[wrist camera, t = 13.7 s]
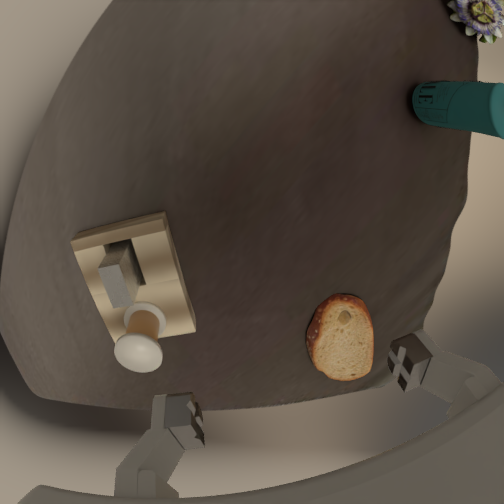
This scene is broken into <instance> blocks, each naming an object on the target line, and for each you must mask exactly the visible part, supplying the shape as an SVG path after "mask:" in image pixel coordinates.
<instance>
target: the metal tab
mask: <svg viewBox="0 0 504 504" xmlns="http://www.w3.org/2000/svg"><path fill="white" fill-rule="evenodd" d="M97 269H98V272H99V274H100V277H101V280H102V282H103V285H104V287H105V290H106V292H107V295H108V297H109V300H110V302H111V304H112V307H113V308H120V307H126V306H133V305H134V303H135V299H136V296H137V293H138V289H139V286H140V283H141V280H142V277H143V273H142V270H141V267H140V264H139V262H138V258H137V255H136V252H135V249H134V246H133V243H132V240H131V238H130V239H126V240H121V241H117V242H113V244H112V246H111V247H110V249H109V250H108V252H107V253H106V255H105V257H104V258H103V260H102V262H101V263H100V265H99V267H98V268H97Z"/></svg>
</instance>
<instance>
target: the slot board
mask: <svg viewBox="0 0 504 504" xmlns="http://www.w3.org/2000/svg"><path fill="white" fill-rule="evenodd" d="M130 238H131V240H132V243H133V246H134V249H135V252H136V255H137V258H138V262H139V264H140V267H141V270H142V273H143V277H142V280H141V283H140V286H139V289H138V293H137V296H136V299H135V302H138V301H147V302H151V303H153V304H155V305H157V306H158V307H160V308H161V309H162V311H163V312H164V314H165V316H166V327H165V330H164V332H163V333H162V334H161V335H160V336H158V338H161V337H167V336H174V335H180V334H185V333H191V332H196V317H195V314H194V311H193V308H192V305H191V302H190V298H189V295H188V292H187V288H186V285H185V282H184V278H183V275H182V271H181V268H180V264H179V261H178V257H177V253H176V250H175V246H174V242H173V239H172V235H171V231H170V227H169V223H168V219H167V215H166V211H163V212H158V213H154V214H149V215H145V216H141V217H137V218H132V219H128V220H124V221H120V222H116V223H112V224H108V225H104V226H100V227H97V228H93V229H89V230H85V231H82V232H79V233H78V234H77V235H76V236H75V237H74V238H73V239H72V240H71V241H70V242H71V245H72V248H73V250H74V253H75V256H76V258H77V261H78V263H79V266H80V269H81V271H82V273H83V276H84V278H85V281H86V283H87V285H88V288H89V290H90V292H91V294H92V297H93V299H94V301H95V303H96V306H97V308H98V310H99V312H100V314H101V316H102V318H103V320H104V322H105V324H106V326H107V328H108V330H109V332H110V334H111V336H112V338H113V340H114V342H115V344H116V342H117V340H118V338H119V337H121V336H122V335H124V334H126V330H127V328H126V326H125V324H124V315H125V312H126V309H127V308H128V307H129V306H126V307H120V308H113V307H112V304H111V302H110V300H109V297H108V295H107V292H106V290H105V287H104V285H103V282H102V280H101V277H100V274H99V272H98V269H97V268H98V267H99V265H100V263H101V262H102V260H103V258H104V257H105V255H106V253H107V252H108V250H109V249H110V247H111V246H112V243H113V242H117V241H121V240H126V239H130Z"/></svg>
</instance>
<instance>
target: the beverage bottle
mask: <svg viewBox="0 0 504 504" xmlns="http://www.w3.org/2000/svg"><path fill="white" fill-rule="evenodd" d="M453 81H454V80H453ZM464 81H466V80H464ZM412 102H413V108H414V111H415V113H416V115H417V116H418V118H419V119H420V120H421V121H423V122H424V123H426V124H428V125H433V126H438V127H439V126H440V127H439V128H442V127H447V128H453V129H458V130H459V129H460V130H467V131H472V132H477V133H482V134H486V135H491V136H495V137H500V138H502V139H504V84H503V83H483V82H480V81H479V82H475V81H474V82H473V81H472V82H471V80H470V82H456V81H455V82H450V81H447V80H444V81H433V82H429V81H428V82H424V83H421V84H419V85H418V86H417V87H416V88H415V90H414V93H413V98H412ZM453 129H452V130H453Z"/></svg>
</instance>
